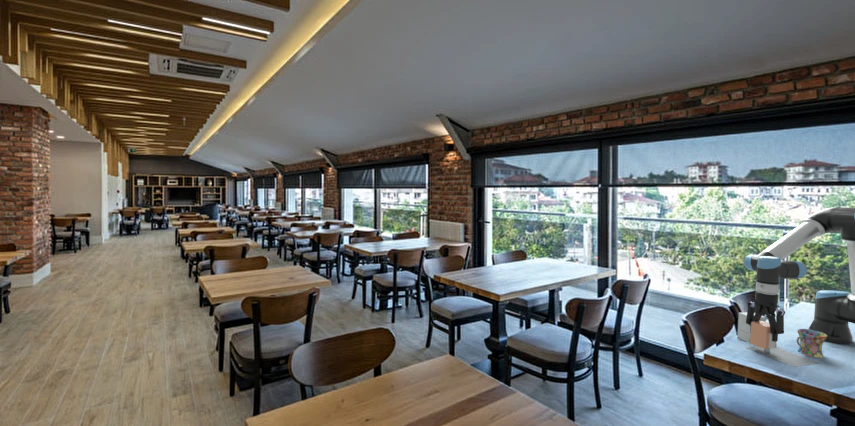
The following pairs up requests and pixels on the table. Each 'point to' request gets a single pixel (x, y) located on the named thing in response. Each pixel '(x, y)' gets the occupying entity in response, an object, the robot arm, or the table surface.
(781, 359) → the board
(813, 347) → the mug
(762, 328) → the peach tan brick
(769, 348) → the post
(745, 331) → the supplement box
